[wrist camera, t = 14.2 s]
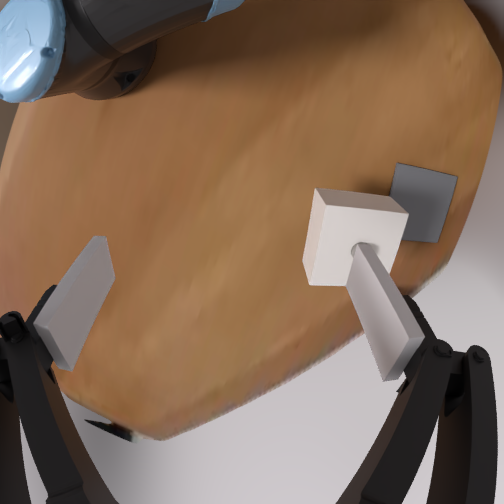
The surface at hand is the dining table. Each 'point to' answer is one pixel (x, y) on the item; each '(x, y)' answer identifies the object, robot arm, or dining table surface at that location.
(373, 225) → the cover cap
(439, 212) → the mat
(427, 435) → the robot arm
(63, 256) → the dining table surface
